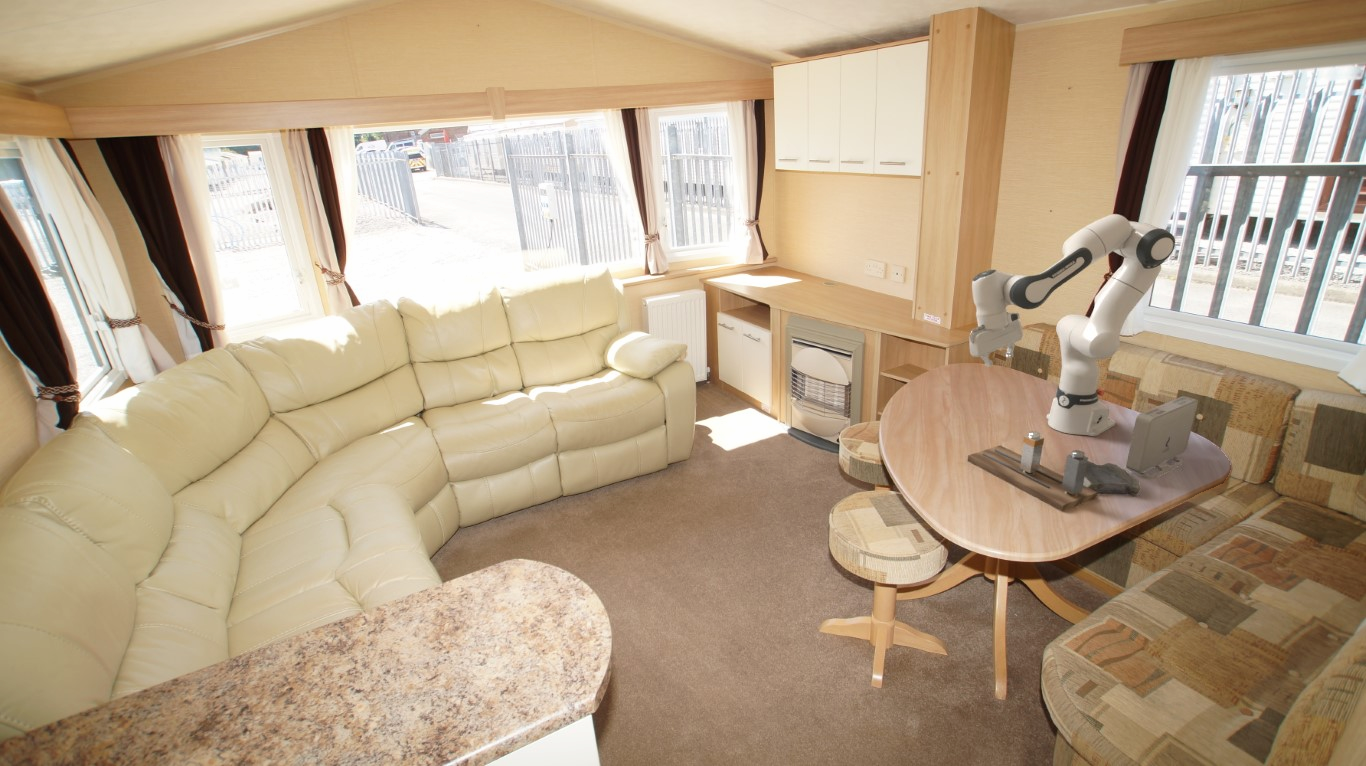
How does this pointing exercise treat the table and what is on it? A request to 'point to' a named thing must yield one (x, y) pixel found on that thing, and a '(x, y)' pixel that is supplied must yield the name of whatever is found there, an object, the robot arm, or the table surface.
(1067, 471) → the fixed leg
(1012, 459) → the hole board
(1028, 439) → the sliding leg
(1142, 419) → the network device
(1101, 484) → the fossil
